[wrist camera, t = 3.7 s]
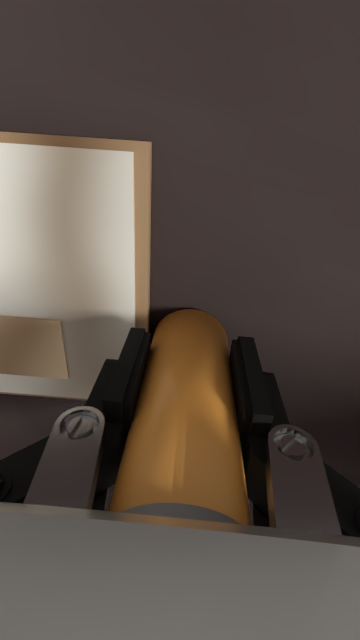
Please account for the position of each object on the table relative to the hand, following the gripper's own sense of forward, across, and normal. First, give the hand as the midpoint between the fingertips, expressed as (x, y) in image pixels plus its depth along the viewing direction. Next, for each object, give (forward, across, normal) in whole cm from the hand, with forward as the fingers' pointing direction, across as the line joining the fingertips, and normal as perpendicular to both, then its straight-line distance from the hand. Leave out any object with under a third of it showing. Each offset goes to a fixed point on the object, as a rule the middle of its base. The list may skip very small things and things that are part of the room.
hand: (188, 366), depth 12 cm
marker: (+2, 0, 0) cm, 2 cm away
